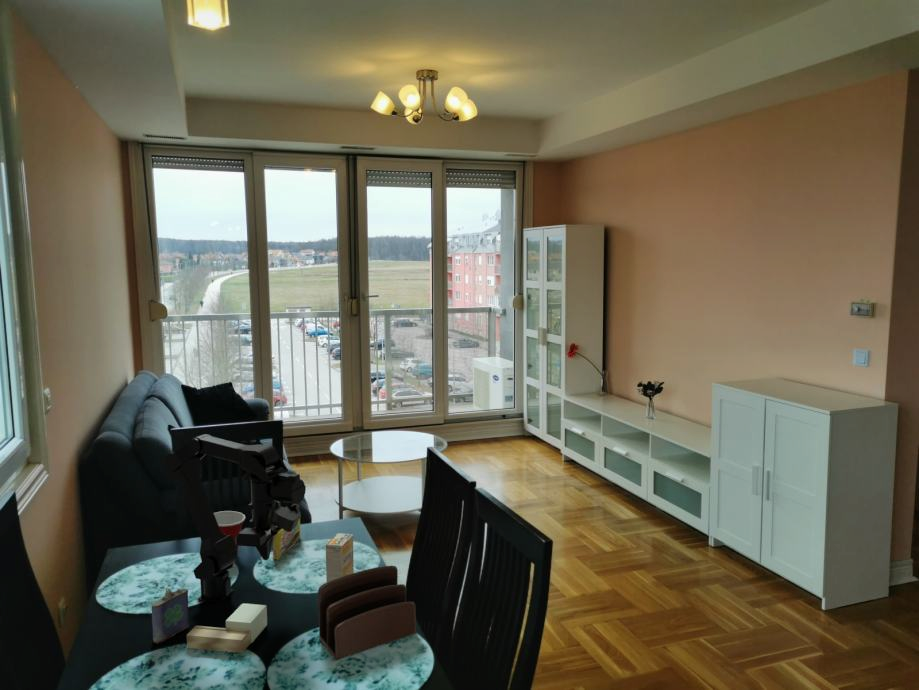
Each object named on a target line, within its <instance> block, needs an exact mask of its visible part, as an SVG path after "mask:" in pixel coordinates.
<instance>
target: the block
mask: <svg viewBox="0 0 919 690" xmlns="http://www.w3.org/2000/svg"><path fill="white" fill-rule="evenodd" d="M267 610H268V608H267V605H266V604H257V603H256V604H255V603H241V604H240V605H239V606H238V607H237V609H235V610H234V611H233V613H232V614H230V616H229V617H227V619H226V620H225V628H228V629H239V630H250V641H251V643H250V644H252V643H254V641H255V640H256V638H258V636H259V635H260V634H261V633H262V631H264V629H265V628H266V627H267V625H268V614H267V613H268V611H267Z"/></svg>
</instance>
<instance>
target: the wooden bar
mask: <svg viewBox="0 0 919 690" xmlns="http://www.w3.org/2000/svg"><path fill="white" fill-rule="evenodd" d="M250 644H252V643H251V641H250V630H239V629H228V628H226V627H214V626H206V625H205V626H204V625H195V626H194V627H193V628H192V629H191V630H190V631H189V632H188V633H187V634H186V648H187V649H197V650H206V651H207V650H208V651H215V650H220V651H219V652H225V651H228V652H227V653H236V652H238V653H237V654H242V652H243V653H244V652H245V650H246V649H247V648H248V647H249V646H250Z"/></svg>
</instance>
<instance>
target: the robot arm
mask: <svg viewBox="0 0 919 690" xmlns="http://www.w3.org/2000/svg"><path fill="white" fill-rule="evenodd" d="M206 455H207V456H211V457H214V458H218V459H222V460H226V461H229V462H232V463H236V464H237V465H239V466H240V467H241V469H243V470H245V471H247V473H246V474H245V475H244V476H243V477H242V479H243V480H245V481H250V492H251V494H250V495H251V502H250V503H249V504H247V507H248V509H249V510H251V515H252V518H251V519H250V520H249V521H248V525H249V526H252V527H244V529H241V532H240V533H238V534H237V535H236V536H235V542H234V539H233V536H232V535H229V536H226V535H225V534H224V533H222V532H221V530H220V528H219V525H218V523H217V520H216V518H215V515H214V513H215V512H214V510H213V507H212V505H211V503H210V500H209V498H208V496H207V492H206V490H205V488H204V486H203V483H202V480H201V478H202V477H201V476H202V470H203V465H202V461H201V460H202V459H203V458H204V457H205V456H206ZM162 463H163V468H164V470H165V472H166V474H167V476H168V478H169V480H170V481H172V482H173V483H175V485H177V486H178V487H180V489H181V492H182V493H183V498H184V500H185V501H186V504H187V507H188V510H189V513H190V514H191V518H192V519H193V522H194V524H195V527H196V530H197V532H198V535H199V537H200V540H201V541H200V549H199V556H200V560H201V562H200V563H199V564H198V565H197V566H196V567H195V568H194V569H193V575H194V577H195V579H197V580H199V581H200V582H199V583H200V596H198V597H197V601H200V602H210V603H222V602H223V601H224V600H225V599H226V598H228V596H229V595H231V593H232V592H233V591H234V589H233V588H232V579H231V578H232V577H230V571H229V570H231V569H232V568H233V567H234V564H235V562H236V561H237V558H238V556H239V555H238V553H237V550H236V549H238V550H239V546H240V547H250V548H251V547H252V548H256V549H257V552H258V553H259V554H260V556H261V558H262V560H263V561H268V560H269V559H270V555H271V553H272V549H273V541H274V537H275V535H276V534H277V533H278V532H279V531H280V530H281V529H284V531H287V532H291V531H292V530H293V529H294V528H295V527H296V526H297V523H298V520H299V519H300V520H301V518H302V512H301V508H300V505H299V504H300V503H301V502H302V501H303V500H304V497H305V496H306V488H307V487H306V485H305V482H304V480H302V479H301V475H300V473H299V474H298V473H288V472H289V469H288V468H287V465H286V464H285V462H284V461H283V459H282V458H281V456H280V455H279V453H278V451H277V448H276V447H275V446H273V445H272V444H258V443H257V444H244V443H239V442H235V441H232V440H226V439H223V438H219V437H216V436H213V435H210V434H207V433H206V434H205V433H204V434H201V435H197V436H195V437H192V439H190V440H189V441H188V442H187V443H186V444H184V445H182V446H180V448H178V449H176V450H175V451H173V452H171V453H168V454H166V455H165V458H164V461H163V462H162ZM273 468H274V469H273ZM270 469H272V470H270ZM269 470H270V471H269ZM267 471H268V472H267ZM281 502H282V503H288V504H292V505H291V506H289V507H288V506H285V507H284V506H282V504H281ZM253 526H254V527H253ZM236 545H237V546H238V547H237V546H236Z"/></svg>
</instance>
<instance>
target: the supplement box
mask: <svg viewBox="0 0 919 690" xmlns="http://www.w3.org/2000/svg"><path fill="white" fill-rule="evenodd" d="M325 567H326V568H325V569H326V572H325V573H326V575H325V576H326V583H327V582H330V581H332V580H335V579H338V578H340V577H343V576H346V575H350V574H353V573H355V570H354V568H355V566H354V534H352V533H339V532H337V533H336V534H335V535H334V536H333V537H332V538H331V539H330V540H329V541H328V542H327V543H326V544H325Z"/></svg>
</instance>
